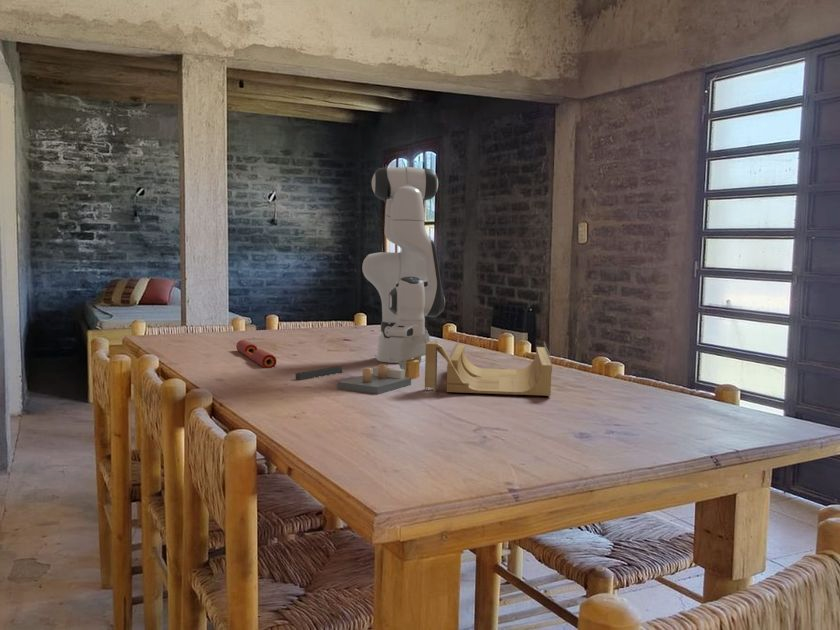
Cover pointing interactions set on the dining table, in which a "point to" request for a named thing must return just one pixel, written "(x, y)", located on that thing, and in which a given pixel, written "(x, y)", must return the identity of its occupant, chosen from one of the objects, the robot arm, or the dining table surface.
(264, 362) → the blood vessel
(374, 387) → the board
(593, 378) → the dining table surface
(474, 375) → the skate ramp
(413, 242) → the robot arm
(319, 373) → the dark grey bar
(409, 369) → the cylinder
